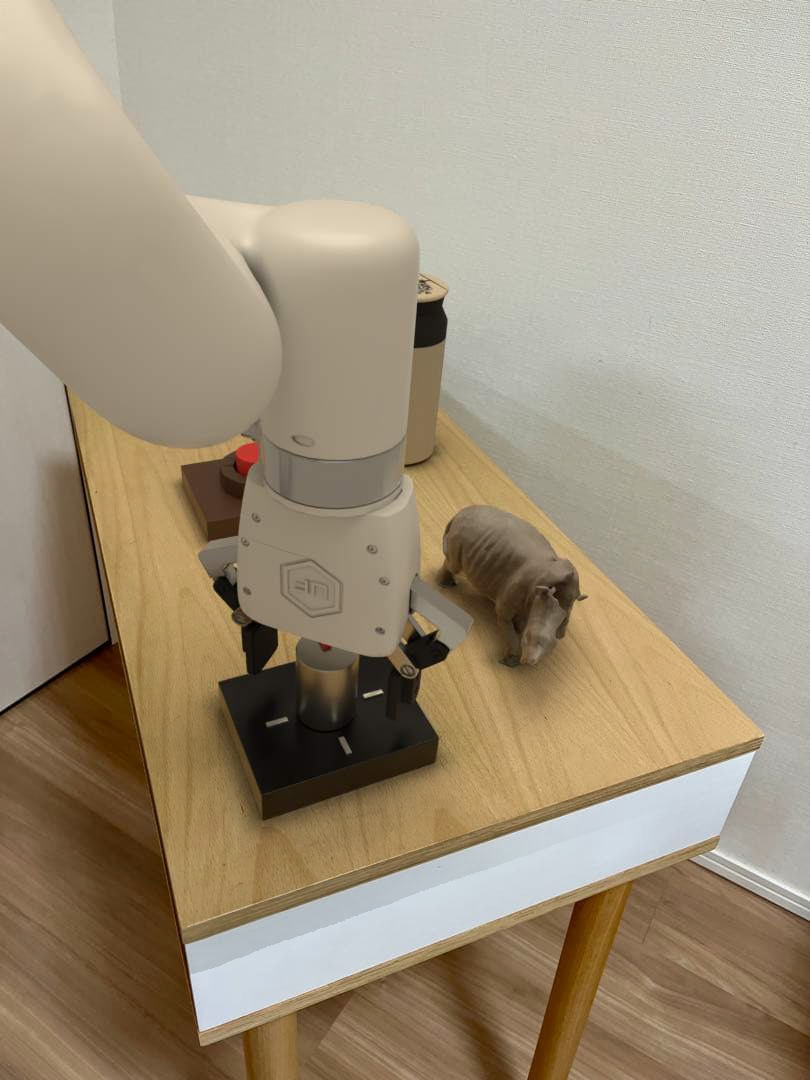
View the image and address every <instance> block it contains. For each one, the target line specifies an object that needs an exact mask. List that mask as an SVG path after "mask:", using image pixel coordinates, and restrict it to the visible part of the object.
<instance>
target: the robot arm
mask: <svg viewBox="0 0 810 1080" xmlns="http://www.w3.org/2000/svg"><path fill="white" fill-rule="evenodd" d="M420 266H421V249H420V242H419V239H418V236H417V234H416V232H415V230H414V228H413V227H412V225H411V223H410V222H409V221H407V220H406V219H405V218H404V217H403V216H402V215H401V214H398V213H397V212H395V211H393V210H390V209H387V208H385V207H382V206H380V205H376V204H373V203H368V202H364V201H358V200H350V199H338V198H317V199H316V198H315V199H305V200H299V201H294V202H288V203H286V204H282V205H270V204H269V205H268V204H259V203H249V202H241V201H232V200H226V199H225V200H224V199H219V198H212V197H204V196H198V195H192V194H185V193H184V192H183V191H182V190H181V188H180V187H179V186H178V184H177V182H176V181H175V180H174V179H173V177H172V176H171V175H170V173H169V172H168V171H167V169H166V168H165V167H164V165H163V164H162V162H161V161H160V160H159V158H158V157H157V156H156V155H155V153H154V151H153V150H152V148H151V147H150V146H149V144H148V143H147V142H146V141H145V138H144V137H143V136H142V135H141V133H140V132H139V131H138V129H137V127H136V126H135V125H134V124H133V122H132V121H131V119H130V118H129V116H128V115H127V113H126V112H125V110H124V109H123V107H122V106H121V105H120V103H119V102H118V100H117V99H116V98H115V96H114V95H113V94H112V92H111V91H110V89H109V87H108V85H106V82H104V81H103V78H102V77H101V76H100V75H99V73H98V71H97V70H96V68H95V67H94V65H93V64H92V63H91V61H90V59H89V58H88V56H87V54H86V53H85V51H84V49H83V48H82V46H81V45H80V43H79V42H78V40H77V38H76V37H75V35H74V34H73V32H72V31H71V28H70V27H69V25H68V24H67V22H66V21H65V19H64V17H63V16H62V14H61V12H60V11H59V9H58V7H57V5H56V4H55V1H54V0H0V325H2V326H3V327H4V328H5V329H6V330H7V331H8V332H9V333H10V334H11V335H12V336H13V337H14V338H15V339H16V340H17V341H19V343H21V344H22V345H23V346H24V347H25V348H26V349H27V350H28V351H29V352H30V353H31V354H32V355H34V356H35V358H36V359H38V360H39V361H40V362H41V363H42V364H43V366H45V367H46V368H47V369H48V370H49V371H50V372H51V373H52V374H53V375H54V376H56V377H57V378H58V380H59V381H61V382H62V383H63V384H64V385H65V386H66V387H67V389H69V390H70V391H71V392H72V393H73V394H75V396H77V397H78V398H79V399H80V400H81V401H82V402H84V403H85V405H87V406H88V407H89V408H90V409H91V410H92V411H94V412H95V413H97V415H99V416H100V417H101V418H103V419H104V420H105V421H107V422H108V423H110V424H111V425H113V426H114V427H116V428H118V429H119V430H121V431H123V432H124V433H126V434H128V435H130V436H131V437H132V438H135V439H139V440H140V441H143V442H147V443H149V444H152V445H154V446H158V447H163V448H168V449H174V450H198V449H205V448H212V447H215V446H217V445H221V444H223V443H227V442H229V441H231V440H232V439H234V438H236V437H239V435H240V436H241V437H242V438H244V439H249V440H251V441H252V443H257V444H258V446H259V461H257V462H256V463H255V464H253V465H252V466H251V468H250V469H249V471H248V476H247V480H246V485H245V489H244V495H243V501H242V508H241V515H240V524H239V534H238V536H234V537H228V538H223V539H218V540H213V541H210V542H207V543H206V544H205V545H204V546H203V547H202V549H201V550H200V551H199V552H198V553H197V558H198V560H199V562H200V564H201V565H202V567H203V569H204V570H205V572H206V573H207V575H208V578H209V579H212V581H213V582H212V588H213V591H214V592H215V594H217V595H218V596H219V598H221V600H222V601H223V602H224V603H225V604H226V605H227V606H228V607H229V608H230V610H232V613H231V614H230V617H231V620H232V622H233V623H234V624H235V625H237V626H239V627H240V631H241V633H240V634H241V635H240V636H241V648H242V652H243V653H245V666H246V674H252V675H256V674H259V673H260V672H261V671H262V670H264V669H265V667H266V665H267V664H268V662H269V661H270V660H271V658H272V657H273V655H274V654H275V653H276V652H277V650H278V647H279V631H282V632H285V633H287V634H288V633H289V634H291V635H294V636H297V637H300V638H301V637H304V638H307V639H310V640H313V641H317V642H320V643H323V644H326V645H330V646H333V647H336V648H340V649H343V650H347V651H350V652H353V653H357V654H361V655H365V656H370V657H385V656H387V657H388V659H389V660H390V661H391V663H392V664H393V665H394V666H393V668H392V670H391V672H390V674H389V678H388V689H387V702H386V716H387V717H388V719H389V720H392V721H395V722H396V721H397V719H398V717H399V715H400V713H401V711H402V709H403V707H404V705H405V704H408V705H411V706H412V705H413V704H414V702H415V700H416V699H417V697H418V695H419V693H420V687H421V678H422V671H423V670H425V669H427V668H431V667H433V666H435V665H437V664H439V663H443V662H444V661H446V659H447V658H448V656H449V655H450V654H451V653H452V652H453V651H455V650H456V649H457V648H458V647H459V646H460V645H461V644H462V643H463V642H465V640H466V639H467V638H468V636H469V634H470V632H471V630H472V629H473V625H474V623H475V619H474V617H473V616H472V615H471V614H469V613H468V612H467V611H465V610H464V609H462V608H461V607H460V606H459V605H458V604H456V603H455V602H453V601H452V600H450V599H449V598H448V597H447V596H445V595H444V594H442V593H441V592H439V591H438V590H437V589H436V588H434V587H433V586H431V585H430V584H428V582H426V581H425V580H423V579H422V578H421V569H422V566H421V565H422V556H421V555H422V551H421V550H422V546H421V527H420V517H419V509H418V507H419V506H418V502H417V496H416V491H415V490H416V489H415V483H414V481H413V478H412V476H411V475H408V474H406V473H405V464H404V462H405V450H406V437H407V422H408V409H409V397H410V384H411V372H412V359H413V347H414V334H415V322H416V309H417V296H418V284H419V273H420V269H421V267H420ZM235 564H236V566H235ZM415 613H416V614H418V615H419V616H421V617H422V618H424V619H425V620H426V621H428V622H429V623H430V624H432V625H433V626H434V627H436V628H437V629H436V630H433V631H432V632H429V633H426V631H425V630H424V629H423V628H422V627H421V625H420V624H419V622H418V621H417V620H416V618H415V617H414V616H413V615H414V614H415ZM402 639H403V640H404V641H405V642H406V643H404V642H403V640H402ZM416 701H417V700H416Z"/></svg>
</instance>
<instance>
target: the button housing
mask: <svg viewBox="0 0 810 1080" xmlns="http://www.w3.org/2000/svg"><path fill="white" fill-rule="evenodd" d="M180 472H181V483H182V486H183V489H184V491H185V493H186V495H187V497H188V500H189V502H190V504H191V507H192V509H193V511H194V513H195V515H196V518H197V520H198V522H199V524H200V527H201V529H202V531H203V534H204V536H205V538H206V540H207V543H209V542H210V541H213V540H218V539H223V538H228V537H234V536H238V534H239V524H240V515H241V508H242V501H243V495H244V489H245V485H246V480H247V476H244V475H242V474H239V473H238V471H237V467H236V450H233V451H232V452H230V453H228V454H227V455H225V456H223V458H219V459H212V460H206V461H200V462H194V463H186V464H182V465H180Z"/></svg>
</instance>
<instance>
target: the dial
mask: <svg viewBox="0 0 810 1080" xmlns="http://www.w3.org/2000/svg"><path fill="white" fill-rule="evenodd" d="M295 661H296V712H297V715H298V717H299V719H300V720H301V721H302V722H303V723H304V724H305V725H306V726H308V727H310V728H312V729H315V730H319V731H333V730H337V729H340V728H342V727H344V726H345V725H347V724H348V723H349V722H350V721H351V720H352V719H353V717H354V715H355V713H356V704H357V687H358V670H359V654H357V653H353V652H350V651H347V650H343V649H340V648H336V647H333V646H330V645H326V644H323V643H320V642H317V641H313V640H310V639H307V638H304V637H300V638H299V640H298V641H297V643H296V645H295Z"/></svg>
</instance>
